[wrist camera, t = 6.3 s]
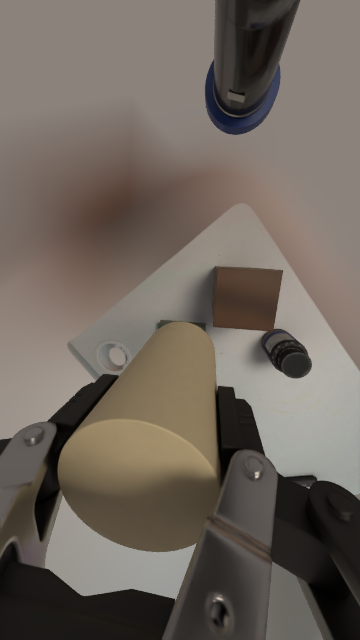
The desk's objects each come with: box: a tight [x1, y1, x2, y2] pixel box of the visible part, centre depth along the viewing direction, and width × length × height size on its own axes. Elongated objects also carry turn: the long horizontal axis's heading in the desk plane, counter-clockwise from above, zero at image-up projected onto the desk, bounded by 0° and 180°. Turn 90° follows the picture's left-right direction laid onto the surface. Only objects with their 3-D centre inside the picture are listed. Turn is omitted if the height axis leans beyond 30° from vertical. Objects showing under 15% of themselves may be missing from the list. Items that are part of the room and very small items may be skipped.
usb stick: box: [286, 476, 317, 487], centre depth 52 cm, size 10×3×2 cm, turn 107°
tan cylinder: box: [57, 322, 222, 552], centre depth 11 cm, size 5×5×10 cm
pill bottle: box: [262, 329, 312, 378], centre depth 39 cm, size 6×6×11 cm
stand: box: [212, 266, 283, 331], centre depth 35 cm, size 8×8×16 cm
